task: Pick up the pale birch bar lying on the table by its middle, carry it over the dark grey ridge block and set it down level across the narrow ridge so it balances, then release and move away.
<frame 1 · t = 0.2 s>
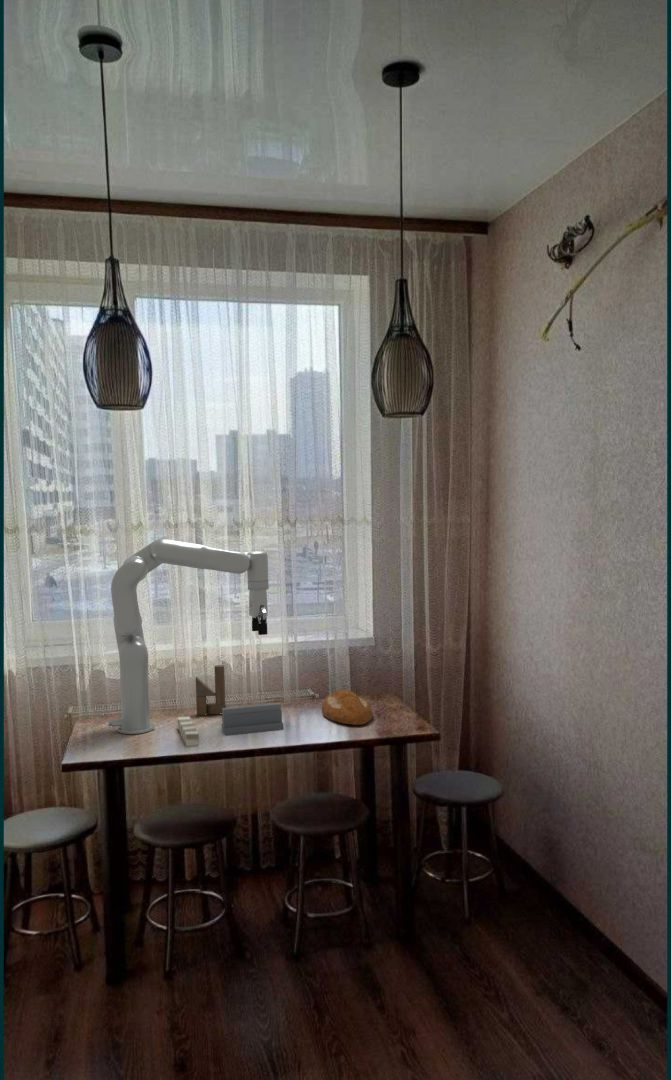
hand: (259, 632, 306), 31 cm above the table, tool pointing down, fingers open, 9 cm apart
wooden block: (211, 714, 315), on the table
birch bar: (188, 737, 285), on the table
ridge block: (252, 729, 292), on the table
bread: (346, 716, 308), on the table
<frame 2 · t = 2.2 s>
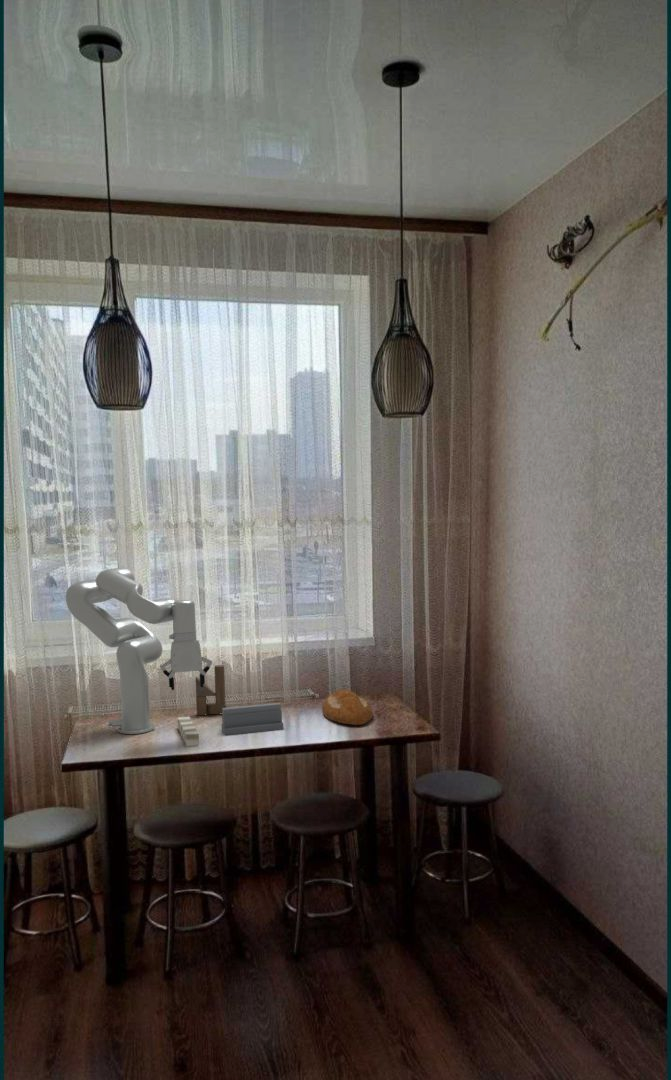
hand: (187, 687, 284), 16 cm above the table, tool pointing down, fingers open, 9 cm apart
nothing on the table moved.
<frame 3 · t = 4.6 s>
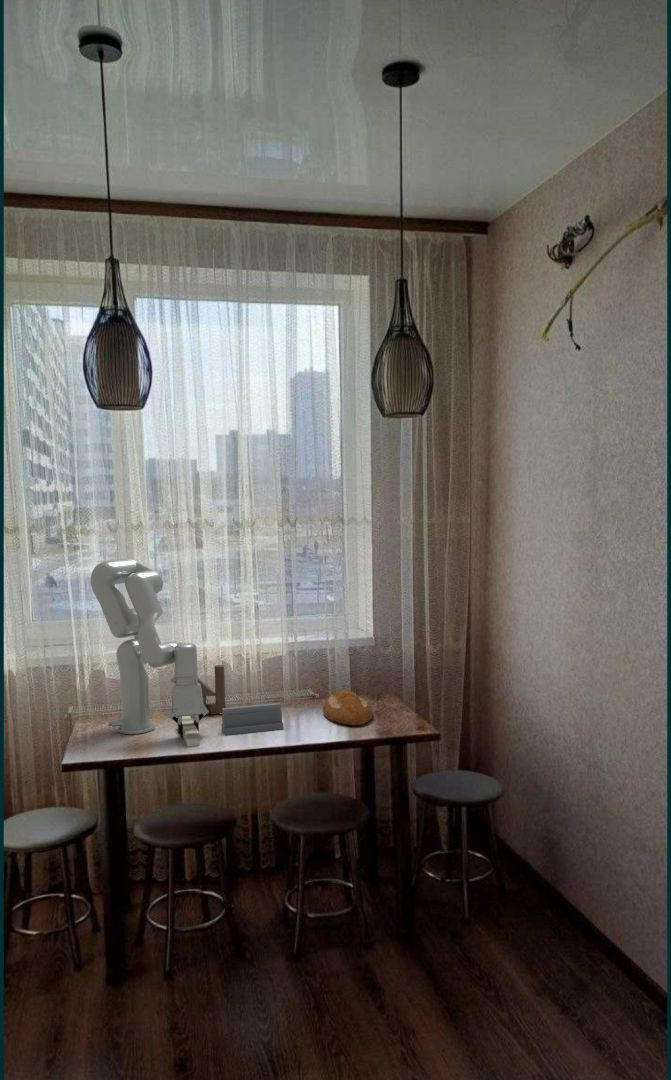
hand: (188, 734, 285), 1 cm above the table, tool pointing down, fingers closed on birch bar, 4 cm apart
birch bar: (188, 736, 285), on the table, touching gripper
everything else where it was.
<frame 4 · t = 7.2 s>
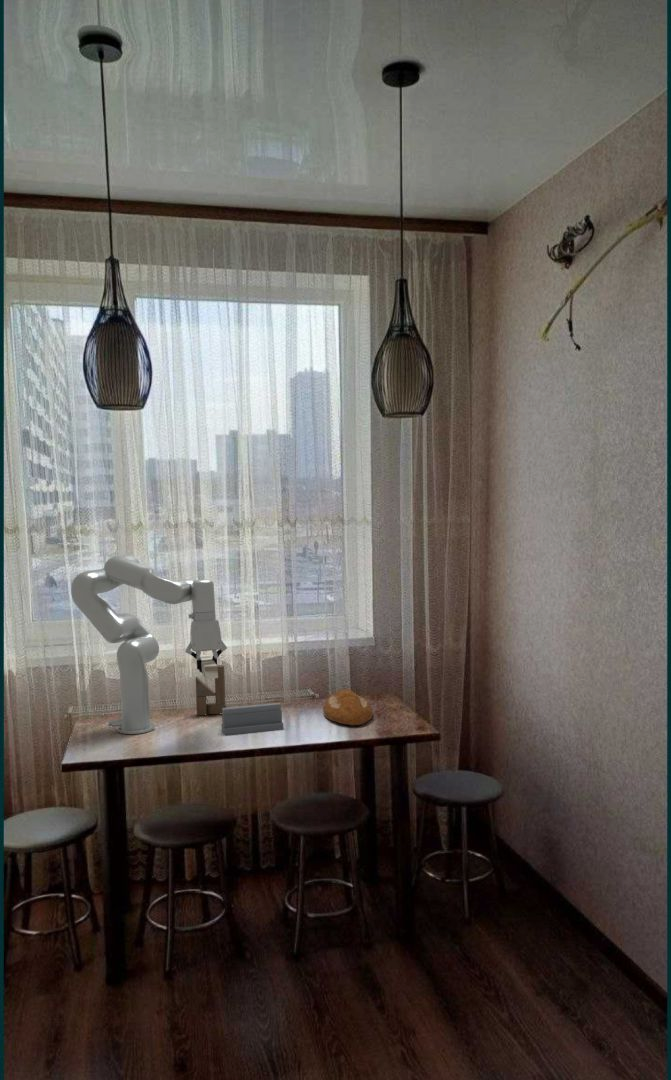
hand: (207, 670, 286), 22 cm above the table, tool pointing down, fingers closed on birch bar, 4 cm apart
birch bar: (207, 672, 286), point 21 cm above the table, touching gripper
everything else where it was.
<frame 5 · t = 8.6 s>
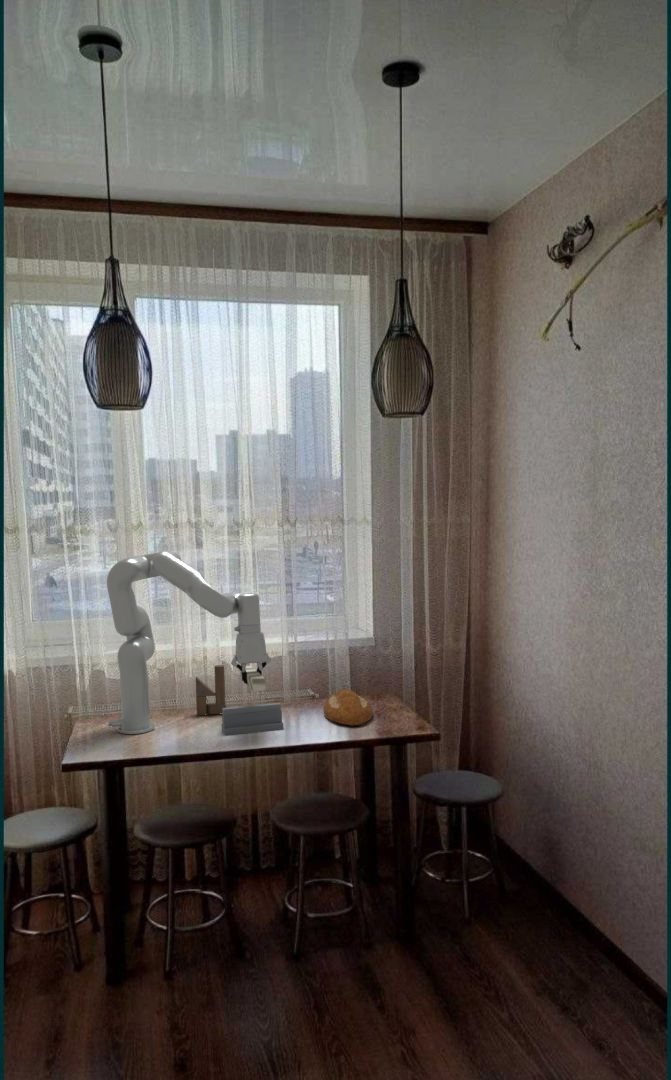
hand: (252, 681, 291), 16 cm above the table, tool pointing down, fingers closed on birch bar, 4 cm apart
birch bar: (252, 683, 291), point 16 cm above the table, touching gripper
everything else where it was.
when the fingers open (9 cm above the table, at t = 9.9 s): birch bar stays where it is, resting on ridge block.
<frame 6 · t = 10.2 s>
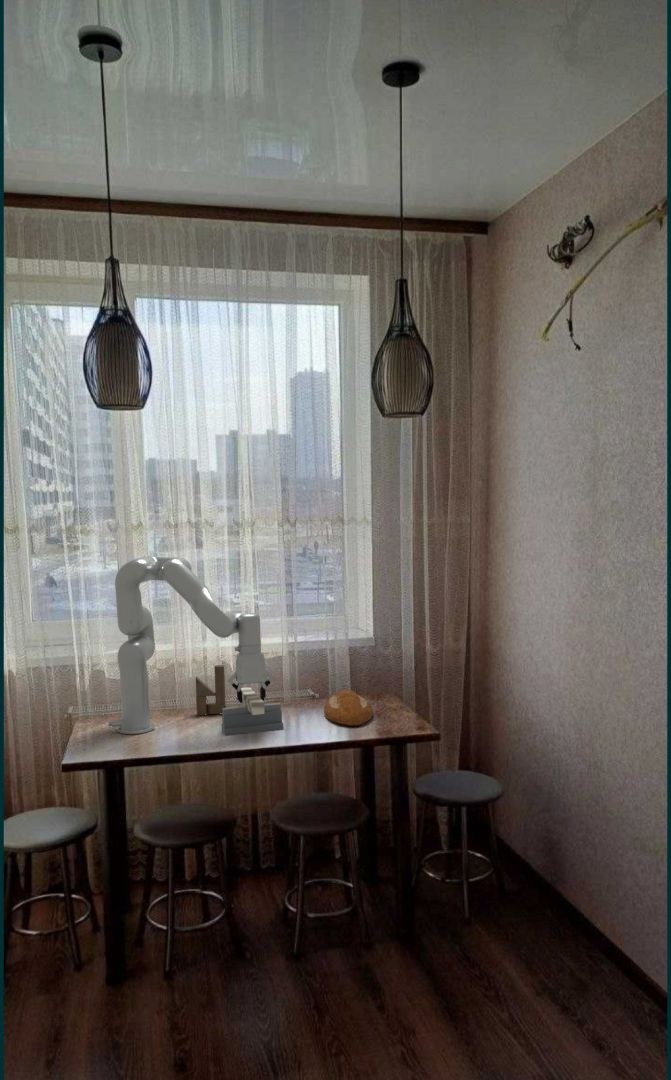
hand: (251, 700, 291), 10 cm above the table, tool pointing down, fingers open, 7 cm apart
birch bar: (251, 706, 291), point 8 cm above the table, touching ridge block
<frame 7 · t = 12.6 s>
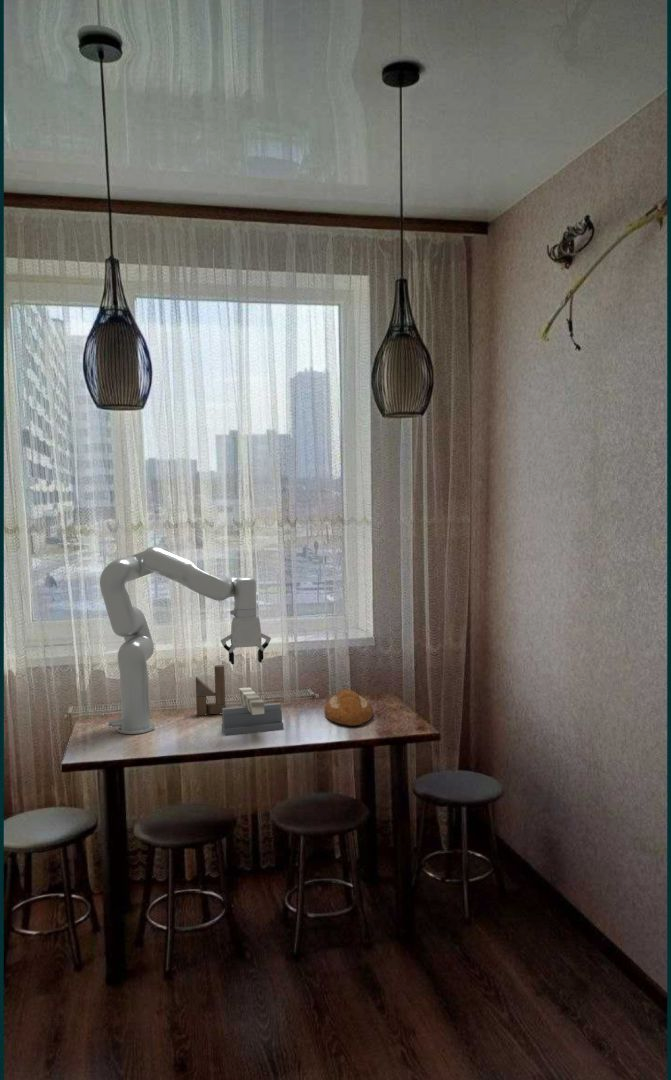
hand: (246, 662, 292), 23 cm above the table, tool pointing down, fingers open, 9 cm apart
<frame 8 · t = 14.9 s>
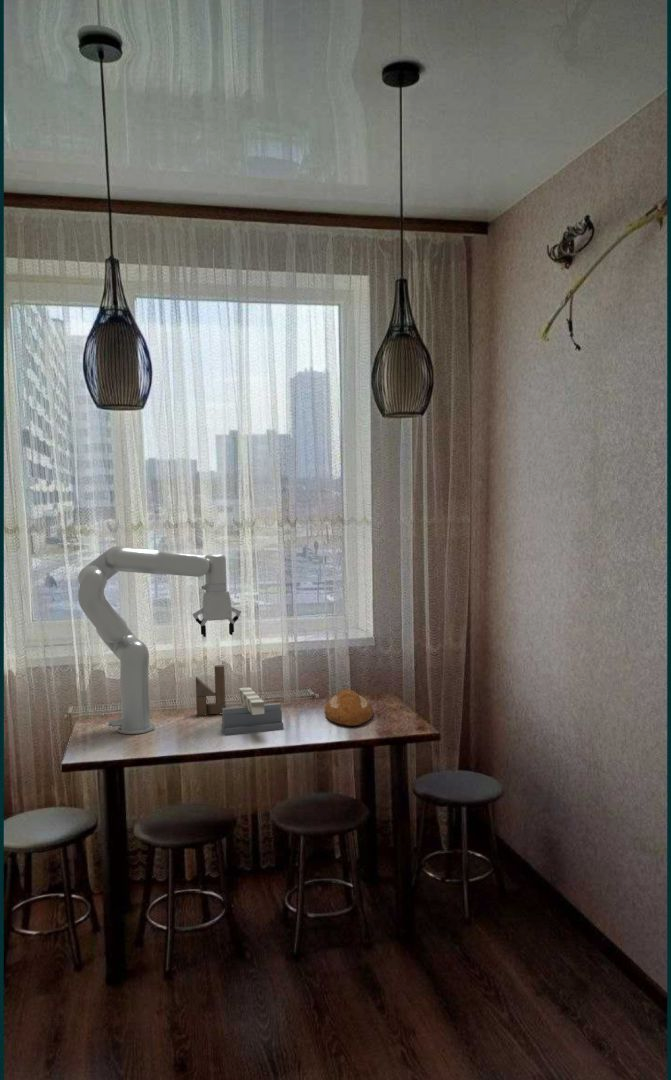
hand: (217, 635, 306), 30 cm above the table, tool pointing down, fingers open, 9 cm apart
at the end: birch bar 0.1 cm off-centre on the ridge block, point 8.0 cm above the ridge block's base; birch bar touching ridge block; birch bar tilted 0° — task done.
